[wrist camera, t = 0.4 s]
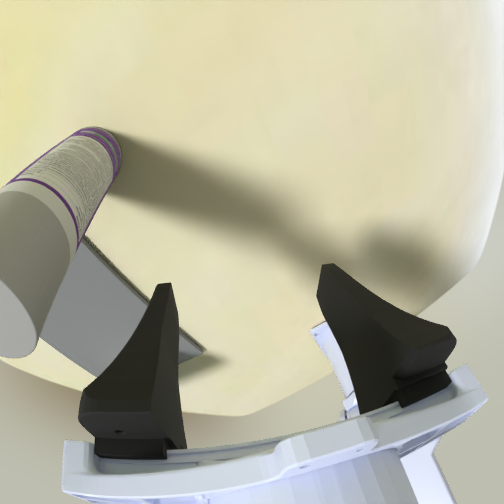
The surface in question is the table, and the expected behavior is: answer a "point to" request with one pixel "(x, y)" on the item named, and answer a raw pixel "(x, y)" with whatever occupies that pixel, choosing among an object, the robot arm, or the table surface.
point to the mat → (97, 314)
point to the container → (48, 229)
